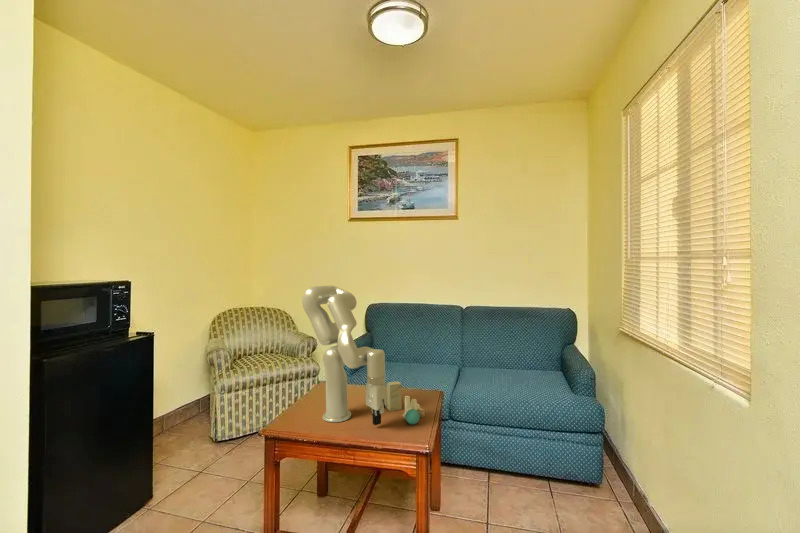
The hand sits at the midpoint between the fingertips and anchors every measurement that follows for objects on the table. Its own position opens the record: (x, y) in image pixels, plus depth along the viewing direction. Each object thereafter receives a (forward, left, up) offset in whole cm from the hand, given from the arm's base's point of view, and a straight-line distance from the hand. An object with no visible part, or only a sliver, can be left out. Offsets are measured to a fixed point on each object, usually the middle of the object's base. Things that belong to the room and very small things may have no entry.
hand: (376, 423), depth 154 cm
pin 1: (-3, +17, -2) cm, 18 cm away
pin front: (0, +14, 0) cm, 14 cm away
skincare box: (-13, +17, -2) cm, 21 cm away
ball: (+6, +14, +2) cm, 15 cm away
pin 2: (+2, +17, -2) cm, 18 cm away
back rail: (-3, +22, -2) cm, 22 cm away
